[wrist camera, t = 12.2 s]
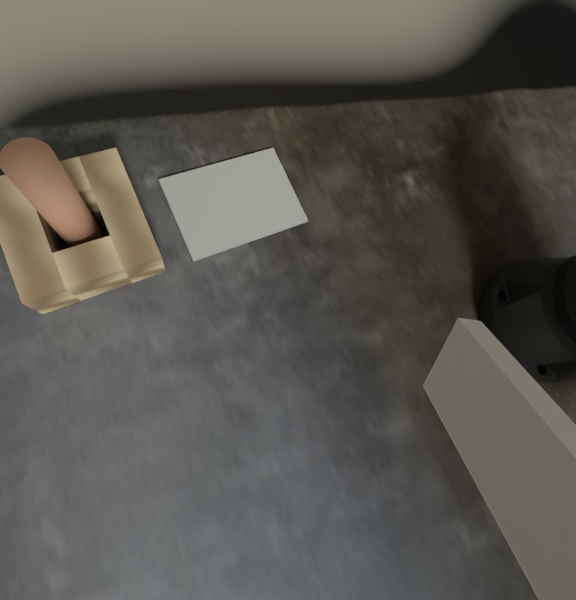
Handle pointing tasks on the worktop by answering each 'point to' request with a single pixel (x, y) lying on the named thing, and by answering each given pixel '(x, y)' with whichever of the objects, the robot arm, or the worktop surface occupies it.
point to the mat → (232, 203)
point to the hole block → (85, 257)
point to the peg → (49, 189)
